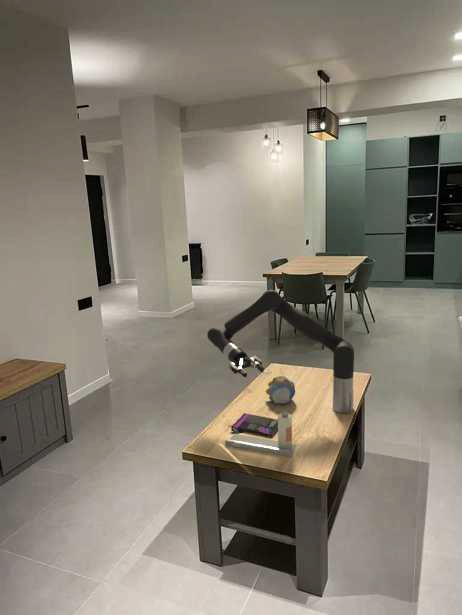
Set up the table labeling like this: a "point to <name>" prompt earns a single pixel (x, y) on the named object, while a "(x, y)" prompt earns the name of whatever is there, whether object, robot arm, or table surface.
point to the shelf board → (258, 442)
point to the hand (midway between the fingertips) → (254, 373)
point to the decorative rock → (281, 390)
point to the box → (256, 425)
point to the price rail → (258, 447)
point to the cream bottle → (285, 431)
